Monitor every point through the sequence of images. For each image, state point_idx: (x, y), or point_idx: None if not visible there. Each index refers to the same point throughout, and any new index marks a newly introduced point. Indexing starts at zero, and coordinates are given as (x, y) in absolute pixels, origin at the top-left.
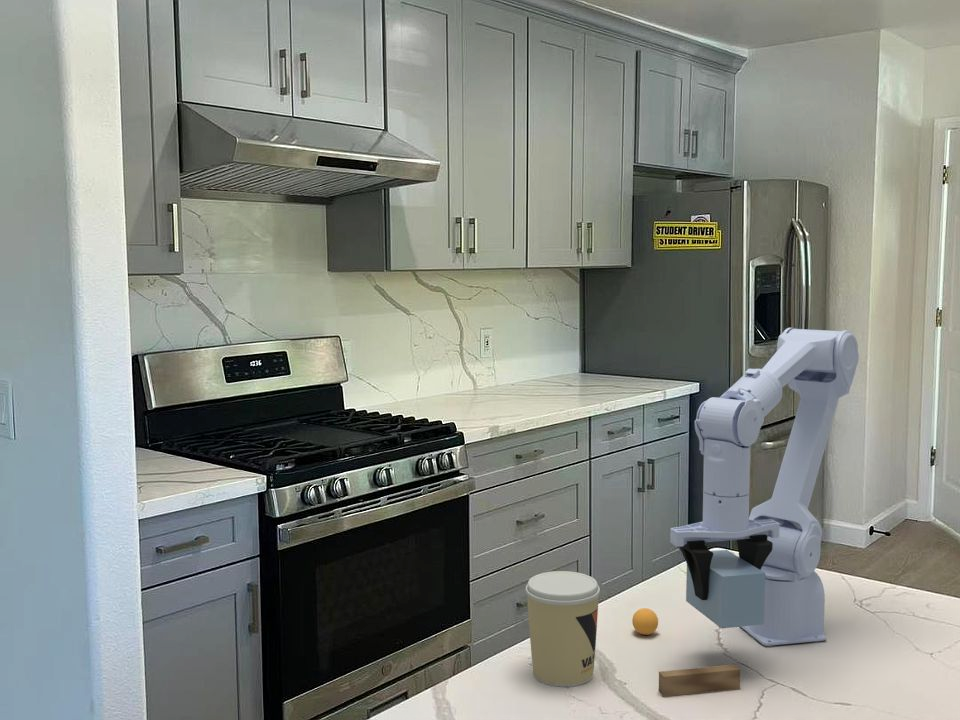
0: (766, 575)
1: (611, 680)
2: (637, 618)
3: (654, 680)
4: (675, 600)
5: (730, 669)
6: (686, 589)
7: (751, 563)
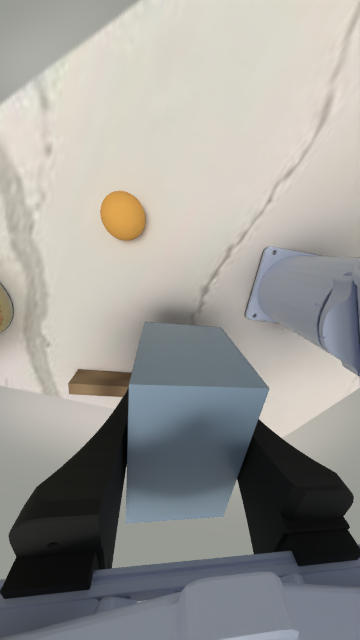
0: (323, 339)
1: (33, 334)
2: (102, 221)
3: (83, 348)
4: (256, 83)
5: None
6: (142, 331)
7: (241, 477)
